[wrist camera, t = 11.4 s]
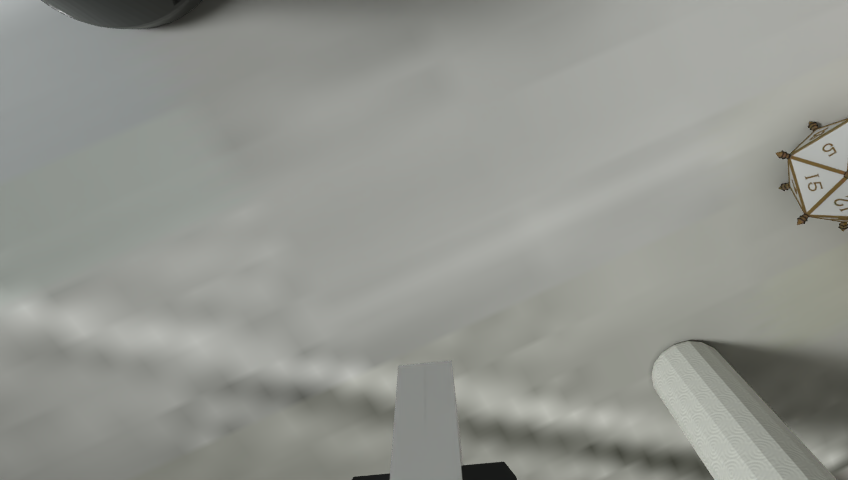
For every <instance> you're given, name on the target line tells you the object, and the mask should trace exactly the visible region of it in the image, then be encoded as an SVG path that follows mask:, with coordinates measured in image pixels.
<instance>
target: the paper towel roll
mask: <svg viewBox="0 0 848 480" xmlns="http://www.w3.org/2000/svg"><path fill="white" fill-rule="evenodd" d="M652 380H653V385H654V388H655V390H656V391H657V393H658V394H659V396H660V397H661V399H662V400H663V402H664V404H665V405H666V407H667V408H668V410H669V411H670V413H671V414H672V416H673V417H674V419H675V420H676V422H677V423H678V425H679V426H680V428H681V429H682V431H683V432H684V434H685V436H686V437H687V439H688V440H689V442H690V443H691V445H692V446H693V448H694V449H695V451H696V452H697V454H698V455H699V457H700V458H701V460H702V461H703V463H704V464H705V466H706V468H707V469H708V471H709V472H710V474H711V475H712V477H713V478H714V480H837V479H836V478H835V477H834V476H833V475H832V474H831V473H830V472H829V471H828V470H827V469H826V468H825V466H824V465H823V464H822V463H821V462H820V461H819V460H818V459H817V458H816V457H815V456H814V455H813V454H812V452H811V451H810V450H809V449H808V448H807V447H806V446H805V445H804V444H803V443H802V442H801V441H800V440H799V439H798V437H797V436H796V435H795V434H794V433H793V432H792V431H791V430H790V429H789V428H788V427H787V426H786V425H785V424H784V422H783V421H782V420H781V419H780V418H779V417H778V416H777V415H776V414H775V413H774V412H773V411H772V410H771V408H770V407H769V406H768V405H767V404H766V403H765V402H764V401H763V400H762V399H761V398H760V397H759V396H758V395H757V393H756V392H755V391H754V390H753V389H752V388H751V387H750V386H749V385H748V384H747V383H746V382H745V381H744V380H743V378H742V377H741V376H740V375H739V374H738V373H737V372H736V371H735V370H734V369H733V368H732V367H731V366H730V364H729V363H728V362H727V361H726V360H725V359H724V358H723V357H722V356H721V355H720V354H719V353H718V352H717V351H716V349H715V348H713V347H711V346H709V345H707V344H705V343H702V342H694V341H686V342H682V343H679V344H675V345H673V346H671V347H670V348H668V349H667V350H665V351H664V352H662V354H661V355H660V356H659V358H658V359H657V360H656V362H655V363H654V367H653V371H652Z"/></svg>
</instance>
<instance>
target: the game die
mask: <svg viewBox="0 0 848 480" xmlns="http://www.w3.org/2000/svg"><path fill="white" fill-rule="evenodd" d="M808 128H810V130H813V132H812V133H811V134H810V135H809V136H808V137H807V138H806V139H805V140H804V141H803V142H802V143H801V144H800V145H799V146H798V147H797V148H796V149H795V150H793V151H792V152H791V153H790V154H788V153H787V152H784V151H783V150H782V151H781V152H778V153H776V154H777V156H778V157H779V158H782V159H785V158H787V159H788V175H789V184H787V183H785V184H782V185H781V186H780V187H779V189H782V190H783V191H785V190H788V189H789V188H791V190H792V192H793V194H794V196H795V198H796V200H797V201H798V203H799V205H800V207H801V209H802V211H803V212H804V215H802V216H800V217H799V218H797V219H798V222H797V225H799V224H803V223H804V224H805V222H806V221H807V218H808V217H813V218H819V219H826V220H832V221H838V222H841V223H840V224H839V225H840V226H839V227H838V228H840V229H841V230H842V231H844V230H845V229H847V228H848V227H847V226H848V224H847V222H848V118H847V119H845V120H842V121H839V122H836V123H833V124H830V125H827V126H824V127H821V128H818V125H816V122H810V121H809V126H808Z"/></svg>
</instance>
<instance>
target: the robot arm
mask: <svg viewBox="0 0 848 480" xmlns="http://www.w3.org/2000/svg"><path fill="white" fill-rule="evenodd" d="M41 1H43V2H44V3H45V4H47V5H49V6H50V7H52V8H53V9H55V10H57V11H59V12H60V13H62V14H64V15H67V16H69V17H71V18H73V19H76V20H79V21H81V22H85V23H88V24H91V25H95V26H100V27H106V28H116V29H144V28H152V27H156V26H160V25H164V24H167V23H170V22H172V21H174V20H176V19H178V18H180V17H182V16H184V15H185V14H187V13H188V12H190V11H191V10H192V9H193V8H195V7H196V6H197V5H198V4H199V3H200V2H201V1H202V0H41ZM352 480H517V478H516V476H515V475H514V474H513V472H512V471H511V470H510V469H509V467H508V466H507V465H506V464H505V462H496V463H485V464H474V465H463V463H462V453H461V442H460V432H459V423H458V414H457V405H456V396H455V387H454V378H453V369H452V360H451V361H441V362H430V363H420V364H410V365H400V366H398V377H397V390H396V403H395V416H394V430H393V443H392V456H391V469H390V474H380V475H369V476H358V477H353V479H352Z"/></svg>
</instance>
